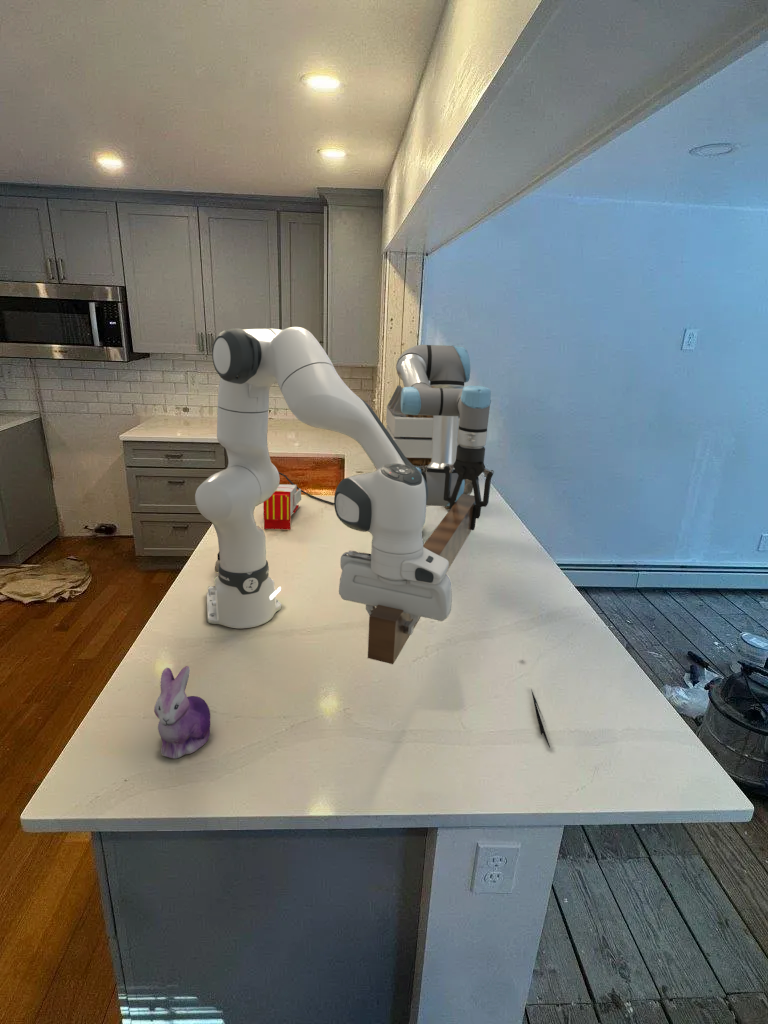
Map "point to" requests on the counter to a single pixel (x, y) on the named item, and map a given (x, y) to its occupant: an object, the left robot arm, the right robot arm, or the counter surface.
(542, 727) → the feather
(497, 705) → the counter surface
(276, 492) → the toy
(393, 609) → the bar
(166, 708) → the figurine
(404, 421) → the transformer
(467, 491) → the fossil
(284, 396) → the left robot arm
